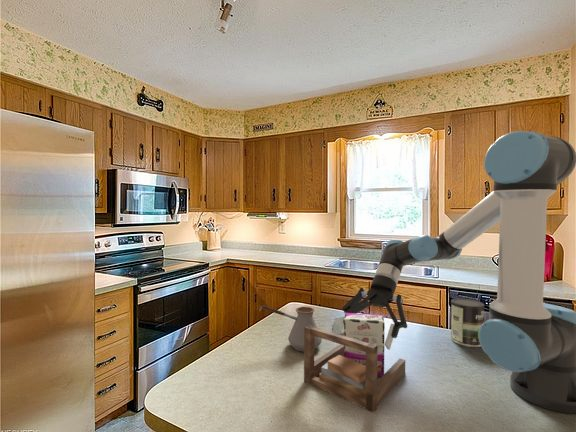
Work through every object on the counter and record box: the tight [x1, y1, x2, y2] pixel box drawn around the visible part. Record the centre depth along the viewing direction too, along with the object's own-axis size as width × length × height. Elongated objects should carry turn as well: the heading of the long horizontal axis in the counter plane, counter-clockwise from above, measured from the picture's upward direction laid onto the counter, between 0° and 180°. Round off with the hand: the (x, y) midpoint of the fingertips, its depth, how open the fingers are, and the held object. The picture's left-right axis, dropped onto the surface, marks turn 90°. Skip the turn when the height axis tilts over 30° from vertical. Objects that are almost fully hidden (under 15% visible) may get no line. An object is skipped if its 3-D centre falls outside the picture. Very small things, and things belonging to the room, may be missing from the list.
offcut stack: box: [318, 355, 366, 397], centre depth 83 cm, size 14×7×6 cm, turn 50°
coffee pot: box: [259, 304, 323, 353], centre depth 106 cm, size 21×12×15 cm, turn 99°
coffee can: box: [450, 298, 485, 348], centre depth 112 cm, size 10×10×14 cm
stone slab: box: [331, 316, 345, 336], centre depth 125 cm, size 22×3×10 cm
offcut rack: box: [303, 325, 406, 413], centre depth 87 cm, size 20×22×15 cm
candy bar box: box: [343, 313, 386, 378], centre depth 90 cm, size 11×5×16 cm, turn 77°
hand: (364, 340), depth 91 cm, fingers open, 13 cm apart
